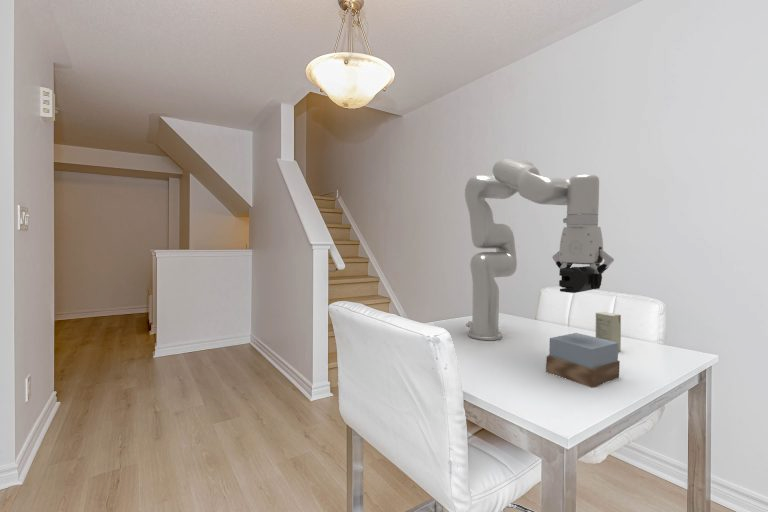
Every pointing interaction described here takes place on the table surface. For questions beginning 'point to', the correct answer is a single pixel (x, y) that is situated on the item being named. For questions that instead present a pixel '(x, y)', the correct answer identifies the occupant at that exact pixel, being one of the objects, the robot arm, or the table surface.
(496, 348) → the table surface
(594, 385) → the walnut base block
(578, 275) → the end cap
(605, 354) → the slate top block
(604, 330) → the skincare box
